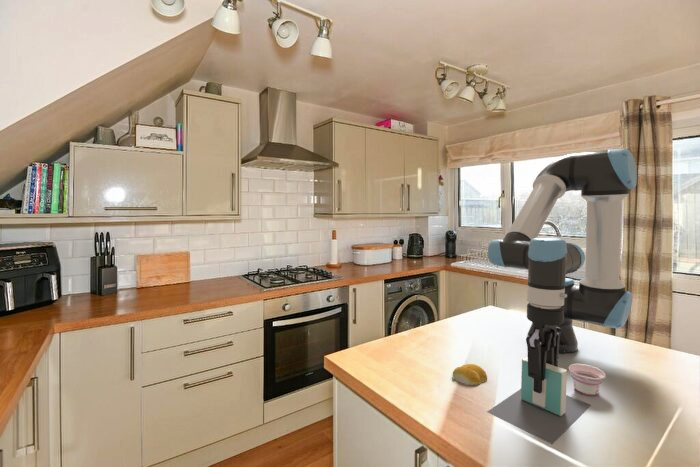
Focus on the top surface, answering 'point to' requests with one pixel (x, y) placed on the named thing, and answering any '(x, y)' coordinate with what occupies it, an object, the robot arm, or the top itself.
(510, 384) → the top surface
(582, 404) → the mat
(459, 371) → the bread roll
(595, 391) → the teacup
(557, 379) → the tile
